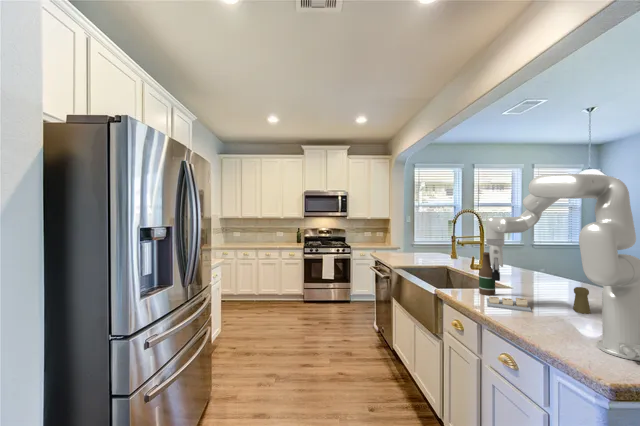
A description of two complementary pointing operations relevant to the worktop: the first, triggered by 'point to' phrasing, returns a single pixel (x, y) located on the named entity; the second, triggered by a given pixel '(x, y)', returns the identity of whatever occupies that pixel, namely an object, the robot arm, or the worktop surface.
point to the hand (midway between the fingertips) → (496, 280)
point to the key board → (514, 307)
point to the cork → (581, 300)
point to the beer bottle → (486, 277)
